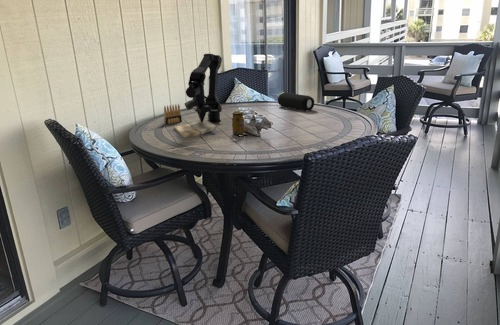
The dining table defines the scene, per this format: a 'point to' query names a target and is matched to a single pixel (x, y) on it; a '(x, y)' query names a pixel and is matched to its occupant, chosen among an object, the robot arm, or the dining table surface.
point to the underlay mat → (192, 136)
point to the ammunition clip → (172, 115)
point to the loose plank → (203, 126)
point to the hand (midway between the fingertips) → (201, 121)
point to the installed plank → (186, 131)
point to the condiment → (238, 123)
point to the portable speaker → (296, 101)
